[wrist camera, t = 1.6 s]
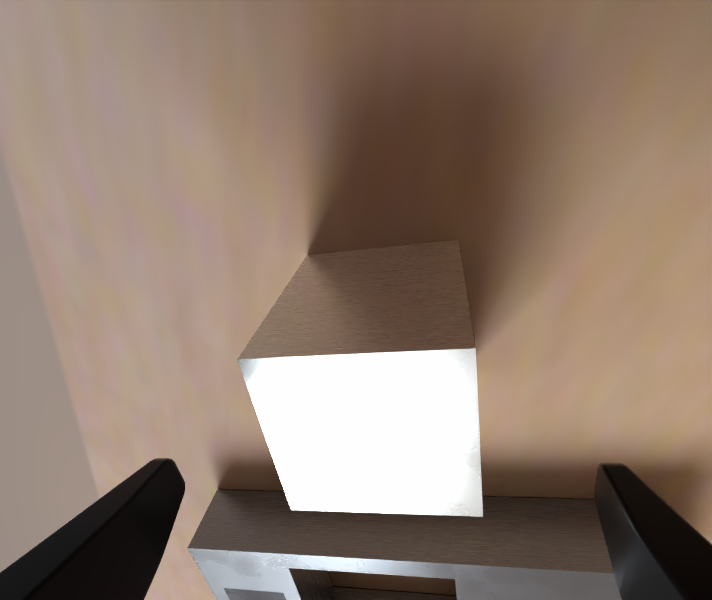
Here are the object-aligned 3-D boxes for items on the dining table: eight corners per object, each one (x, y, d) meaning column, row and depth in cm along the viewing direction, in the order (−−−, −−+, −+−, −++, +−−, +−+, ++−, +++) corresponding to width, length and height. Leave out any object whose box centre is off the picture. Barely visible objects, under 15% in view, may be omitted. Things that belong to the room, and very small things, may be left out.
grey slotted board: (665, 501, 17) (707, 579, 14) (635, 620, 21) (664, 698, 18) (217, 489, 21) (187, 548, 19) (264, 590, 25) (244, 650, 23)
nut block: (458, 239, 13) (475, 348, 8) (465, 367, 16) (483, 516, 10) (307, 254, 14) (237, 359, 9) (335, 372, 17) (290, 509, 11)
